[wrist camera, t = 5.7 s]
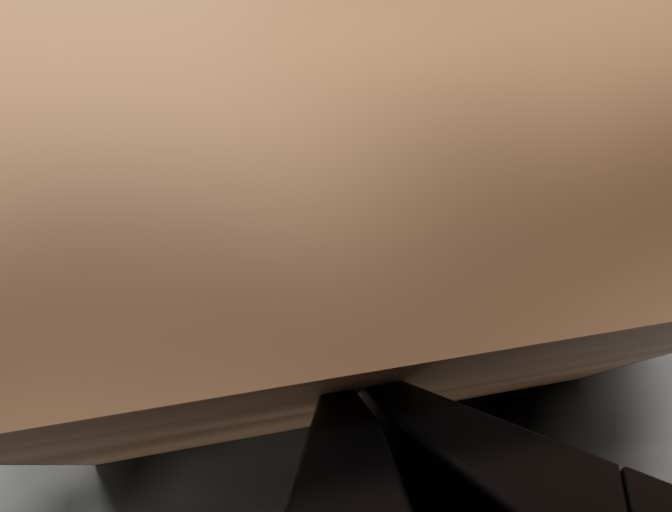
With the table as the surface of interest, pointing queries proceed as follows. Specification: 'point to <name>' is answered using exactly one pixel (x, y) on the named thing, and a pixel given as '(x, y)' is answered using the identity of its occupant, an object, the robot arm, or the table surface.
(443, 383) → the walnut block
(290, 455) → the table surface
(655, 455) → the table surface
